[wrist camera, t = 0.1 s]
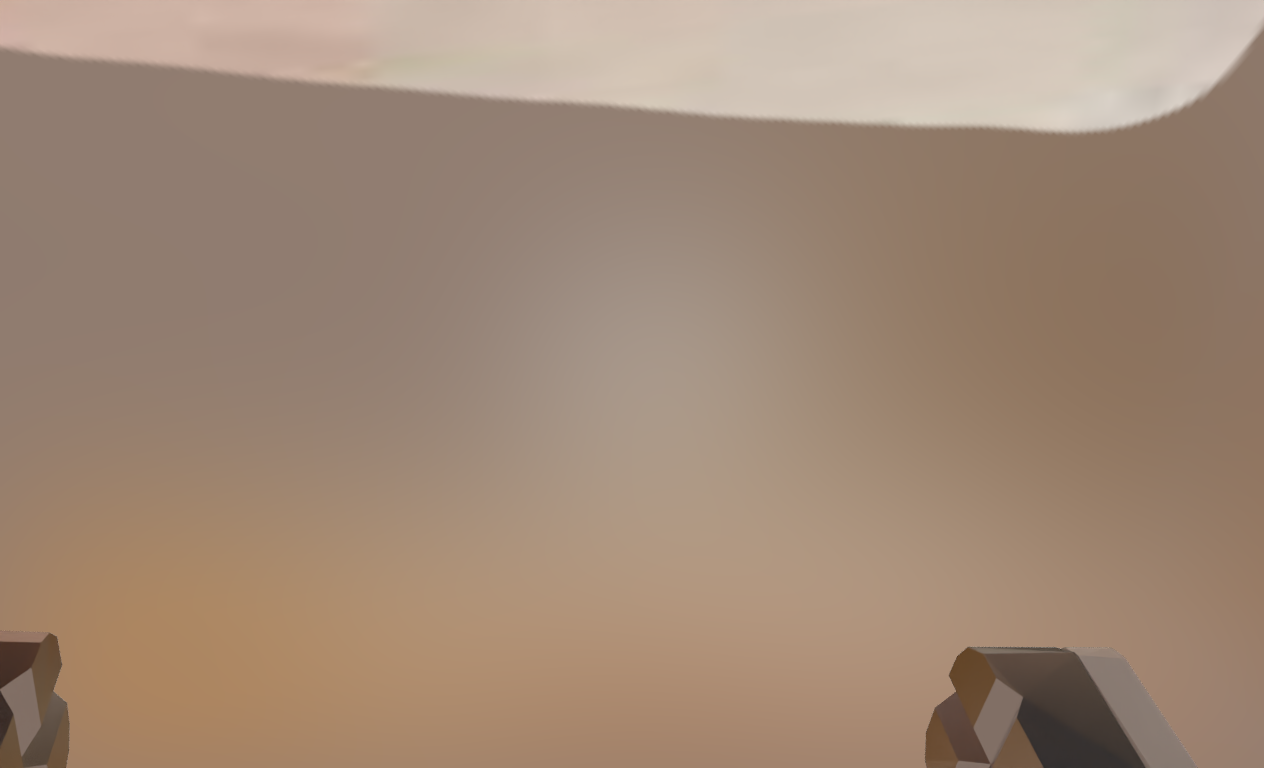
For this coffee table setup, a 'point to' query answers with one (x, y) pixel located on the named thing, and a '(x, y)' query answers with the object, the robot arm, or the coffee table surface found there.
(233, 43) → the coffee table surface
